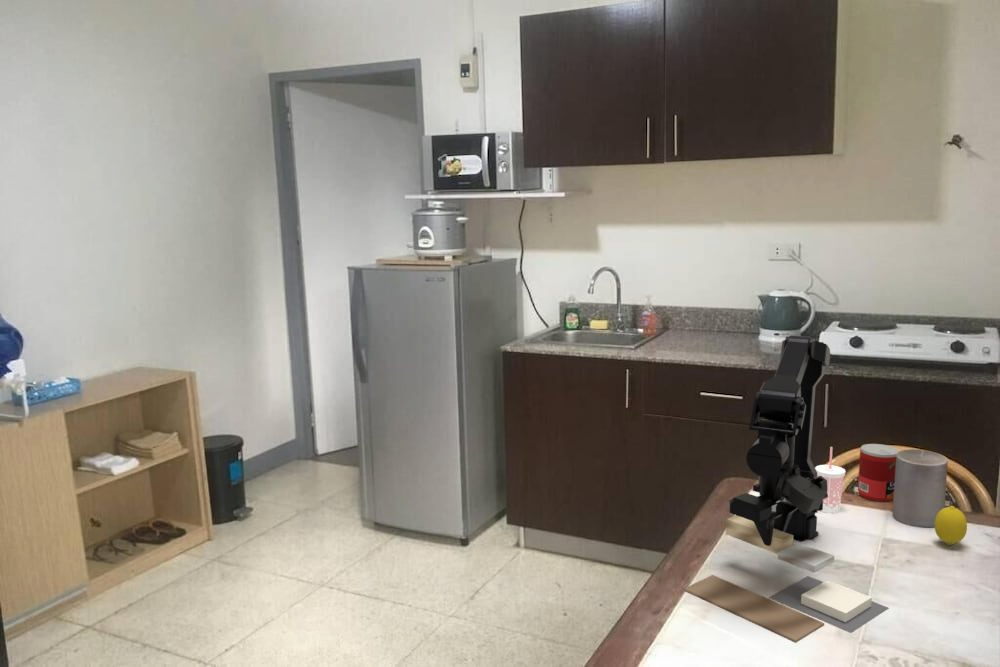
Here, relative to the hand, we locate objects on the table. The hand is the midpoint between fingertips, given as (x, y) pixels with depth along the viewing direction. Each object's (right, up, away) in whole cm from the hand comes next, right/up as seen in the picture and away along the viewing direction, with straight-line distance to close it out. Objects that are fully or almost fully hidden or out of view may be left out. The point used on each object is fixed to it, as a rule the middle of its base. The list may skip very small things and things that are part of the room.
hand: (772, 542), depth 150 cm
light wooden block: (0, -1, 0) cm, 1 cm away
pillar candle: (+39, -2, +27) cm, 48 cm away
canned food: (+36, 0, +40) cm, 54 cm away
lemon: (+39, -4, +15) cm, 42 cm away
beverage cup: (+23, -1, +33) cm, 41 cm away
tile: (+5, -7, -5) cm, 10 cm away
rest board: (-6, -9, -8) cm, 14 cm away
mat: (+7, -9, -7) cm, 13 cm away
